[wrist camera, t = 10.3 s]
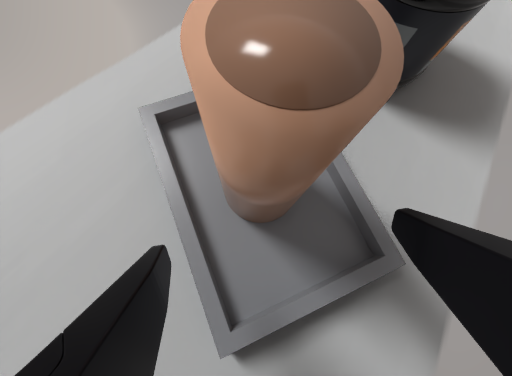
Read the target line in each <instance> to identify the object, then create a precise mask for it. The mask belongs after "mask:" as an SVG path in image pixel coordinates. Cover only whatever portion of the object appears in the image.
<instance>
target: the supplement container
mask: <svg viewBox="0 0 512 376" xmlns="http://www.w3.org/2000/svg"><path fill="white" fill-rule="evenodd" d="M378 1H379V2H380V3H381V4H382V5H383V6H384V8H385V9H386V10H387V11H388V13H389V14H390V16H391V17H392V19H393V21H394V22H395V24H396V26H397V28H398V31H399V33H400V36H401V40H402V44H403V51H404V65H403V71H402V75H401V79H400V81H399V83H398V85H397V88H399V87H402V86H404V85H406V84H408V83H410V82H412V81H413V80H415V79H416V78H417V77H418V76H419V75H420V74H421V73H422V72H423V71H424V70H425V69H426V68H427V66H428V65H429V64H430V63H431V62H432V60H433V59H434V58H435V57H436V56H437V55H438V54H439V53H440V52H441V51H442V50H443V49H444V48H445V47H446V46H447V45H448V44H449V43H450V41H451V40H452V39H453V38H454V37H455V36H456V35H457V34H458V33H459V32H460V31H461V30H462V29H463V28H464V27H465V26H466V25H467V24H468V23H469V21H470V20H471V19H472V18H473V17H474V16H475V15H476V14H477V13H478V12H479V11H480V10H481V9H482V8H483V7H484V6H485V5H486V4H487V2H489V1H490V0H378Z"/></svg>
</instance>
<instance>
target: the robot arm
mask: <svg viewBox="0 0 512 376" xmlns="http://www.w3.org/2000/svg"><path fill="white" fill-rule="evenodd" d="M392 231H393V233H394V235H395V236H396V238H397V239H398V241H399V242H400V244H401V245H402V247H403V248H404V250H405V251H406V253H407V254H408V256H409V257H410V259H411V260H412V262H413V263H414V265H415V266H416V267H417V269H418V270H419V271H420V272H421V274H422V275H423V276H424V277H425V279H426V280H427V281H428V282H429V284H430V285H431V286H432V287H433V289H434V290H435V291H436V292H437V294H438V295H439V296H440V297H441V299H442V300H443V301H444V302H445V304H446V305H447V306H448V307H449V309H450V310H451V311H452V312H453V314H454V315H455V316H456V317H457V318H458V320H459V321H460V322H461V323H462V325H463V326H464V327H465V328H466V330H467V331H468V332H469V333H470V335H471V336H472V337H473V338H474V340H475V341H476V342H477V343H478V345H479V346H480V347H481V348H482V350H483V351H484V352H485V353H486V355H487V356H488V357H489V358H490V360H491V361H492V362H493V363H494V365H495V366H496V367H497V368H498V370H499V371H500V372H501V373H502V375H503V376H512V241H511V240H507V239H504V238H501V237H498V236H495V235H492V234H489V233H485V232H482V231H479V230H476V229H473V228H469V227H466V226H463V225H460V224H457V223H454V222H450V221H447V220H444V219H441V218H438V217H435V216H431V215H428V214H425V213H422V212H419V211H415V210H412V209H409V208H403V209H398V210H396V211H395V214H394V218H393V222H392ZM170 276H171V261H170V258H169V255H168V252H167V249H166V247H165V245H158V246H153V247H151V248H150V249H149V250H148V251H147V252H146V253H145V254H144V255H143V256H142V257H141V258H140V259H139V260H138V261H136V262H135V263H134V264H133V265H132V266H131V267H130V268H129V269H128V270H127V271H126V272H125V273H124V274H123V275H122V276H121V277H120V278H119V279H117V280H116V281H115V282H114V283H113V284H112V285H111V286H110V287H109V288H108V289H107V290H106V291H105V292H104V293H103V294H102V295H101V296H100V297H98V298H97V299H96V300H95V301H94V302H93V303H92V304H91V305H90V306H89V307H88V308H87V309H86V310H85V311H84V312H83V313H82V314H81V315H79V316H78V317H77V318H76V319H75V320H74V321H73V322H72V323H71V324H70V325H69V326H68V327H67V328H66V329H65V330H64V331H63V333H60V334H59V335H58V336H57V337H56V338H55V339H54V340H53V341H52V342H51V343H50V344H49V345H48V346H47V347H45V348H44V349H43V350H42V351H41V352H40V353H39V354H38V355H37V356H36V357H35V358H34V359H32V360H31V361H30V362H29V363H28V364H27V365H26V366H25V367H24V368H23V369H21V370H20V371H19V372H18V373H17V374H16V375H15V376H153V375H154V370H155V366H156V361H157V356H158V351H159V347H160V342H161V337H162V332H163V327H164V323H165V318H166V313H167V307H168V297H169V287H170Z"/></svg>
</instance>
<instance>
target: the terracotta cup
mask: <svg viewBox="0 0 512 376" xmlns="http://www.w3.org/2000/svg"><path fill="white" fill-rule="evenodd" d="M180 40H181V50H182V55H183V59H184V63H185V66H186V69H187V73H188V76H189V79H190V83H191V86H192V89H193V92H194V96H195V99H196V102H197V106H198V109H199V112H200V116H201V119H202V122H203V126H204V129H205V132H206V136H207V139H208V142H209V145H210V149H211V152H212V155H213V159H214V162H215V165H216V169H217V172H218V175H219V179H220V182H221V185H222V189H223V192H224V195H225V198H226V201H227V203H228V205H229V207H230V208H231V209H232V210H233V211H234V212H235V213H236V214H237V215H238V216H239V217H241V218H243V219H245V220H247V221H250V222H255V223H267V222H271V221H274V220H276V219H278V218H280V217H282V216H283V215H284V214H285V213H286V212H287V211H288V210H289V209H290V208H291V207H292V206H293V205H294V204H295V202H296V201H297V200H298V199H299V198H300V197H301V196H302V195H303V194H304V193H305V191H306V190H307V189H308V188H309V187H310V186H311V185H312V184H313V183H314V182H315V180H316V179H317V178H318V177H319V176H320V175H321V174H322V173H323V172H324V170H325V169H326V168H327V167H328V166H329V165H330V164H331V163H332V162H333V161H334V159H335V158H336V157H337V156H338V155H339V154H340V153H341V152H342V151H343V149H344V148H345V147H346V146H347V145H348V144H349V143H350V142H351V141H352V140H353V138H354V137H355V136H356V135H357V134H358V133H359V132H360V131H361V130H362V129H363V127H364V126H365V125H366V124H367V123H368V122H369V121H370V120H371V119H372V117H373V116H374V115H375V114H376V113H377V112H378V111H379V110H380V109H381V108H382V106H383V105H384V104H385V103H386V102H387V101H388V100H389V98H390V97H391V95H392V94H393V93H394V91H395V90H396V88H397V85H398V83H399V81H400V79H401V75H402V71H403V65H404V51H403V44H402V40H401V36H400V33H399V31H398V28H397V26H396V24H395V22H394V21H393V19H392V17H391V16H390V14H389V13H388V11H387V10H386V9H385V8H384V6H383V5H382V4H381V3H380V2H379V1H378V0H193V1H192V3H191V4H190V6H189V8H188V10H187V12H186V14H185V16H184V19H183V23H182V27H181V35H180Z"/></svg>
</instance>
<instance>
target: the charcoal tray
mask: <svg viewBox="0 0 512 376" xmlns="http://www.w3.org/2000/svg"><path fill="white" fill-rule="evenodd" d="M138 110H139V113H140V116H141V119H142V122H143V125H144V128H145V131H146V135H147V138H148V141H149V144H150V147H151V150H152V153H153V156H154V159H155V162H156V165H157V168H158V171H159V174H160V177H161V180H162V183H163V186H164V189H165V192H166V195H167V198H168V202H169V205H170V208H171V211H172V214H173V217H174V220H175V223H176V226H177V229H178V232H179V235H180V238H181V241H182V244H183V247H184V250H185V253H186V256H187V259H188V262H189V265H190V269H191V272H192V275H193V278H194V281H195V284H196V287H197V290H198V293H199V296H200V299H201V302H202V305H203V308H204V311H205V314H206V317H207V320H208V323H209V326H210V329H211V332H212V336H213V339H214V342H215V345H216V348H217V351H218V354H219V357H220V359H222V358H224V357H225V356H227V355H229V354H231V353H233V352H235V351H237V350H239V349H241V348H243V347H245V346H247V345H249V344H251V343H253V342H255V341H257V340H259V339H261V338H263V337H265V336H266V335H268V334H270V333H272V332H274V331H276V330H278V329H280V328H282V327H284V326H286V325H288V324H290V323H292V322H294V321H296V320H298V319H300V318H302V317H304V316H306V315H307V314H309V313H311V312H313V311H315V310H317V309H319V308H321V307H323V306H325V305H327V304H329V303H331V302H333V301H335V300H337V299H339V298H341V297H343V296H345V295H347V294H348V293H350V292H352V291H354V290H356V289H358V288H360V287H362V286H364V285H366V284H368V283H370V282H372V281H374V280H376V279H378V278H380V277H382V276H384V275H386V274H388V273H389V272H391V271H393V270H395V269H397V268H399V267H401V266H403V265H405V264H406V263H405V262H404V260H403V258H402V256H401V255H400V253H399V251H398V250H397V248H396V246H395V244H394V243H393V241H392V239H391V237H390V236H389V234H388V232H387V231H386V229H385V227H384V225H383V224H382V222H381V220H380V218H379V217H378V215H377V213H376V212H375V210H374V208H373V206H372V205H371V203H370V201H369V199H368V198H367V196H366V194H365V193H364V191H363V189H362V187H361V186H360V184H359V182H358V181H357V179H356V177H355V175H354V174H353V172H352V170H351V168H350V167H349V165H348V163H347V162H346V160H345V158H344V156H343V155H342V153H340V154H339V155H338V156H337V157H336V158H335V159H334V161H333V162H332V163H331V164H330V165H329V166H328V167H327V168H326V169H325V170H324V172H323V173H322V174H321V175H320V176H319V177H318V178H317V179H316V180H315V182H314V183H313V184H312V185H311V186H310V187H309V188H308V189H307V190H306V191H305V193H304V194H303V195H302V196H301V197H300V198H299V199H298V200H297V201H296V202H295V204H294V205H293V206H292V207H291V208H290V209H289V210H288V211H287V212H286V213H285V214H284V215H283V216H282V217H280V218H278V219H276V220H274V221H271V222H267V223H255V222H250V221H247V220H245V219H243V218H241V217H239V216H238V215H237V214H236V213H235V212H234V211H233V210H232V209H231V208H230V207H229V205H228V203H227V201H226V198H225V195H224V192H223V189H222V185H221V182H220V179H219V175H218V172H217V169H216V165H215V162H214V159H213V155H212V152H211V149H210V145H209V142H208V139H207V136H206V132H205V129H204V126H203V122H202V119H201V116H200V112H199V109H198V106H197V102H196V99H195V96H194V92H193V91H192V92H188V93H185V94H182V95H179V96H175V97H172V98H169V99H165V100H162V101H159V102H156V103H152V104H149V105H146V106H142V107H139V108H138Z"/></svg>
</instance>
